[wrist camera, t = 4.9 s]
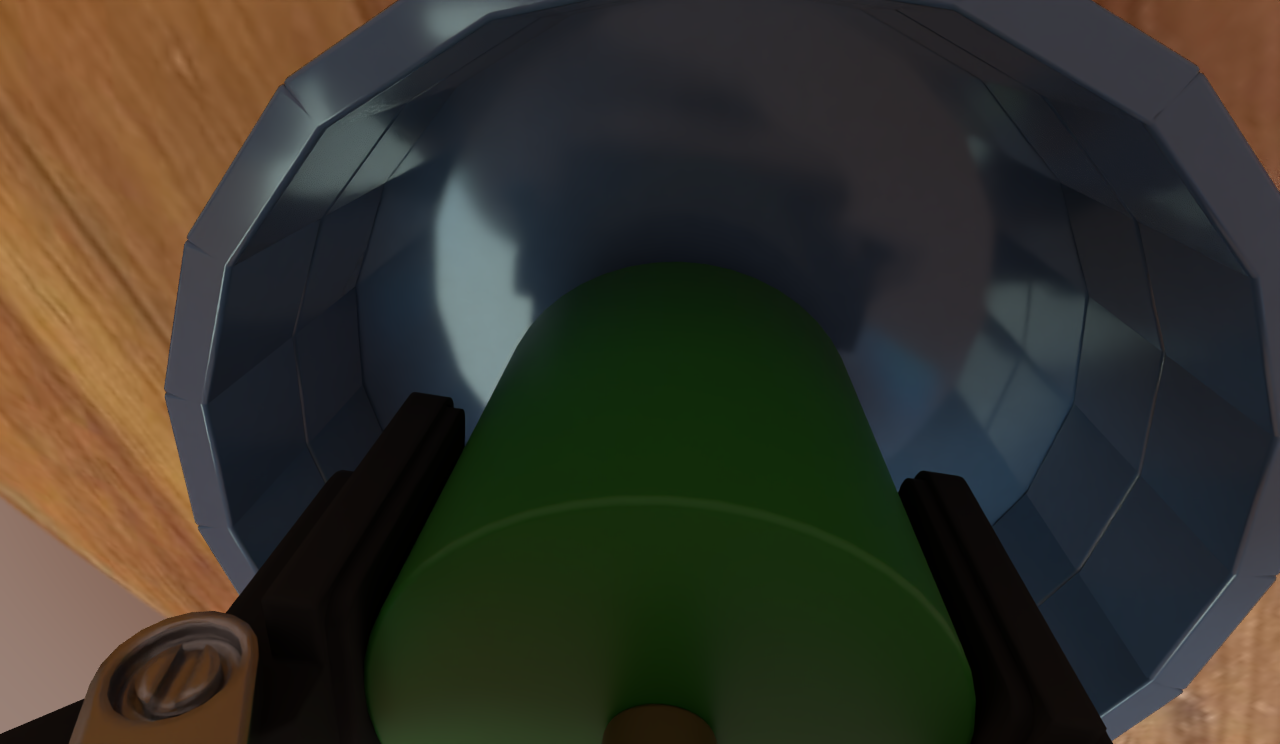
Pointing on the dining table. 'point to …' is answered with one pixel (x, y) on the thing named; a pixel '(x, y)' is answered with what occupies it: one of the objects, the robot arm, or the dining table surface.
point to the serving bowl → (783, 269)
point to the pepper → (669, 543)
